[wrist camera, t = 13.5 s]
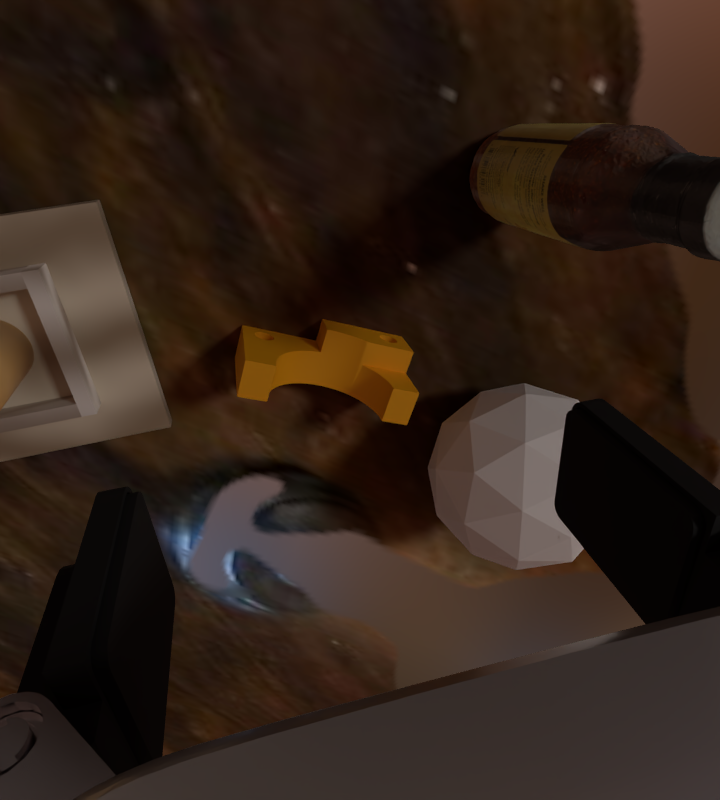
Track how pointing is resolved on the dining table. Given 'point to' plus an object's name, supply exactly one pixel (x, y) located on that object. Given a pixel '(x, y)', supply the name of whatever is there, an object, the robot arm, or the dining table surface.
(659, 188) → the sauce bottle
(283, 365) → the orange blocky piece
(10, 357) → the tan rounded oblong piece
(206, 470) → the dining table surface
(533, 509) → the geodesic sphere
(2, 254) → the grey square framed plate
